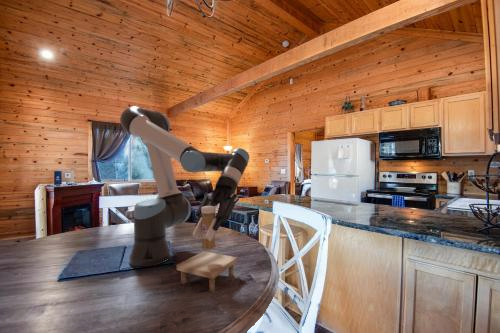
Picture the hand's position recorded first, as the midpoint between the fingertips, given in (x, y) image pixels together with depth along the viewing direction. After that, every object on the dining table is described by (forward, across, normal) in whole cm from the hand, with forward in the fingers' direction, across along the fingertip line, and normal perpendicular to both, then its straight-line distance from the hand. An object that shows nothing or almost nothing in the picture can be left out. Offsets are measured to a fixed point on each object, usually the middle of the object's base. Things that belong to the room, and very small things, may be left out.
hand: (201, 237), depth 78 cm
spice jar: (0, 0, -6) cm, 6 cm away
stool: (+8, 0, -13) cm, 15 cm away
